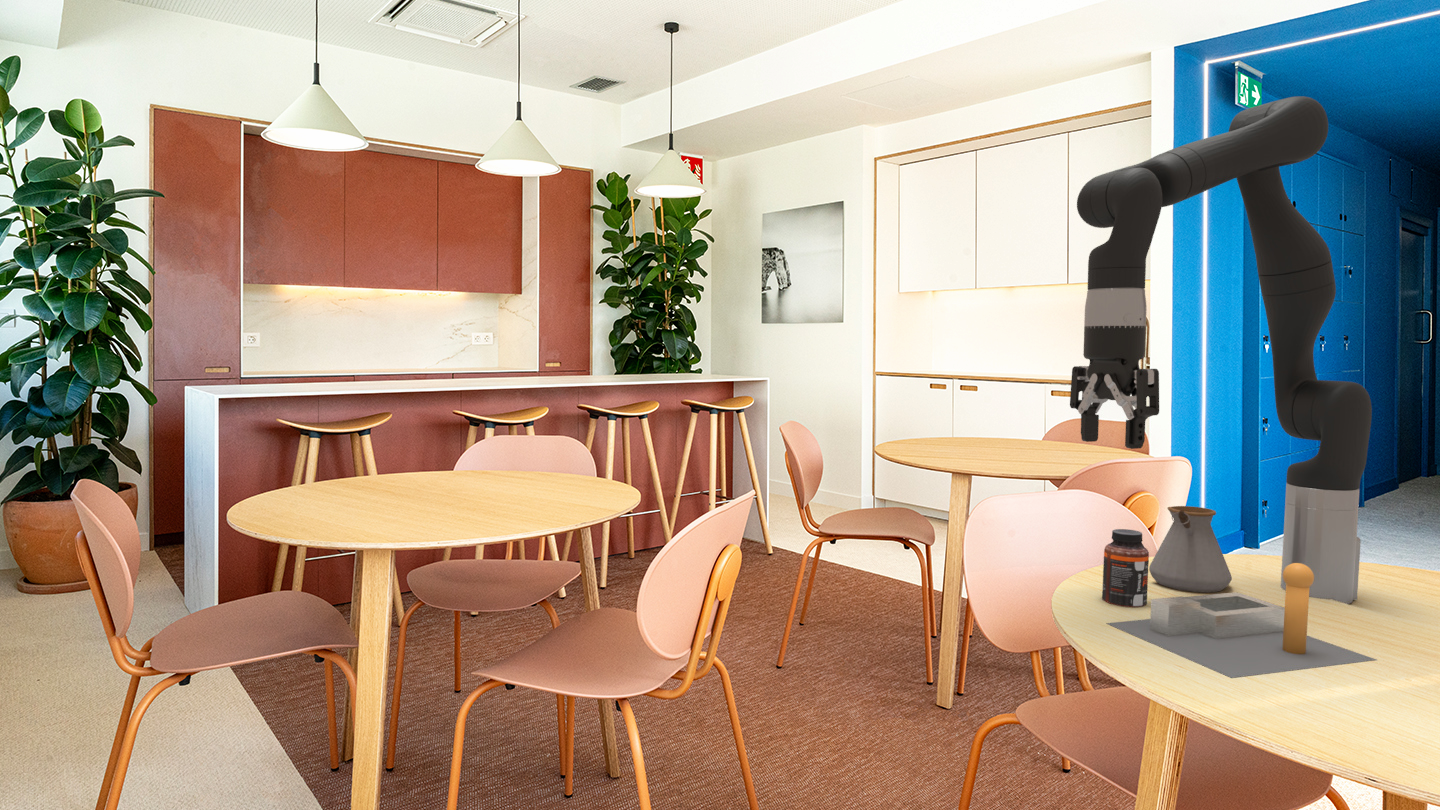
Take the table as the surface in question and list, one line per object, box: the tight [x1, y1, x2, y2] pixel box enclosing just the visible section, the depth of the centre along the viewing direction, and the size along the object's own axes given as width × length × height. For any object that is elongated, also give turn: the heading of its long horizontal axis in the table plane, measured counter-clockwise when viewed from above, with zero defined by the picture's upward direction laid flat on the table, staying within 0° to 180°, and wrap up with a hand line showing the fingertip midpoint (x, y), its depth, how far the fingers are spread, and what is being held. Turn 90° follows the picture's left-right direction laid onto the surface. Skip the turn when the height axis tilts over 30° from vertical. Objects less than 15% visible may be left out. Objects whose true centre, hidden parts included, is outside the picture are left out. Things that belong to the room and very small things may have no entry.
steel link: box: [1149, 592, 1285, 639], centre depth 116 cm, size 17×8×4 cm, turn 107°
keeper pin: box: [1282, 563, 1314, 654], centre depth 107 cm, size 3×3×11 cm
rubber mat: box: [1105, 618, 1378, 679], centre depth 111 cm, size 22×20×1 cm
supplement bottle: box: [1101, 528, 1150, 608], centre depth 128 cm, size 6×6×11 cm
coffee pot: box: [1148, 505, 1233, 594], centre depth 133 cm, size 21×12×15 cm, turn 146°
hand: (1110, 444), depth 118 cm, fingers open, 8 cm apart
